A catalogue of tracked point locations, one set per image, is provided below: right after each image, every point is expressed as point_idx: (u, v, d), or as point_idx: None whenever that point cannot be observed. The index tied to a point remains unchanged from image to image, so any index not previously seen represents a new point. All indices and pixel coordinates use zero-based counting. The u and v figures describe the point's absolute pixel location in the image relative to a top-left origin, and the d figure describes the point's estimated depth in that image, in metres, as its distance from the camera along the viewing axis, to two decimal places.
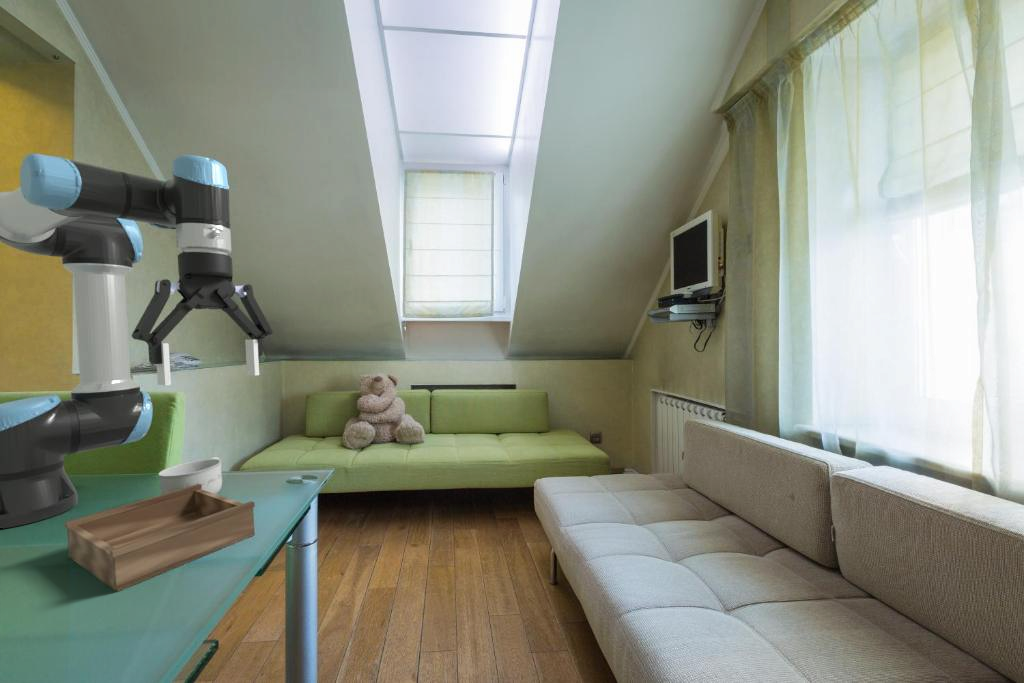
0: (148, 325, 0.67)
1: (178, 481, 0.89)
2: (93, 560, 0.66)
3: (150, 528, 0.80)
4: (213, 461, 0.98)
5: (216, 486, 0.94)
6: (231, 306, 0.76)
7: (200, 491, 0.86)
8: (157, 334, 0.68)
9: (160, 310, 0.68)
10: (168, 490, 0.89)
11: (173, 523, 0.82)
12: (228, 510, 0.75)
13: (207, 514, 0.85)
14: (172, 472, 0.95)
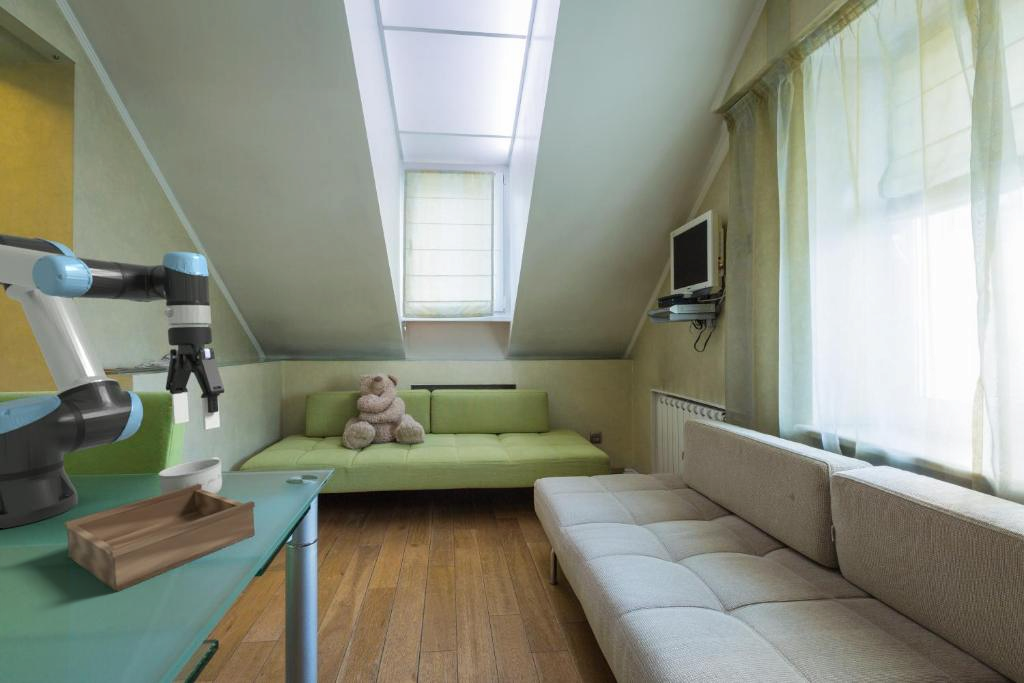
0: (167, 381, 0.98)
1: (178, 481, 0.89)
2: (93, 560, 0.66)
3: (150, 528, 0.80)
4: (213, 461, 0.98)
5: (216, 486, 0.94)
6: (189, 368, 0.92)
7: (200, 491, 0.86)
8: (171, 387, 0.98)
9: (170, 371, 0.97)
10: (168, 490, 0.89)
11: (173, 523, 0.82)
12: (228, 510, 0.75)
13: (207, 514, 0.85)
14: (172, 472, 0.95)
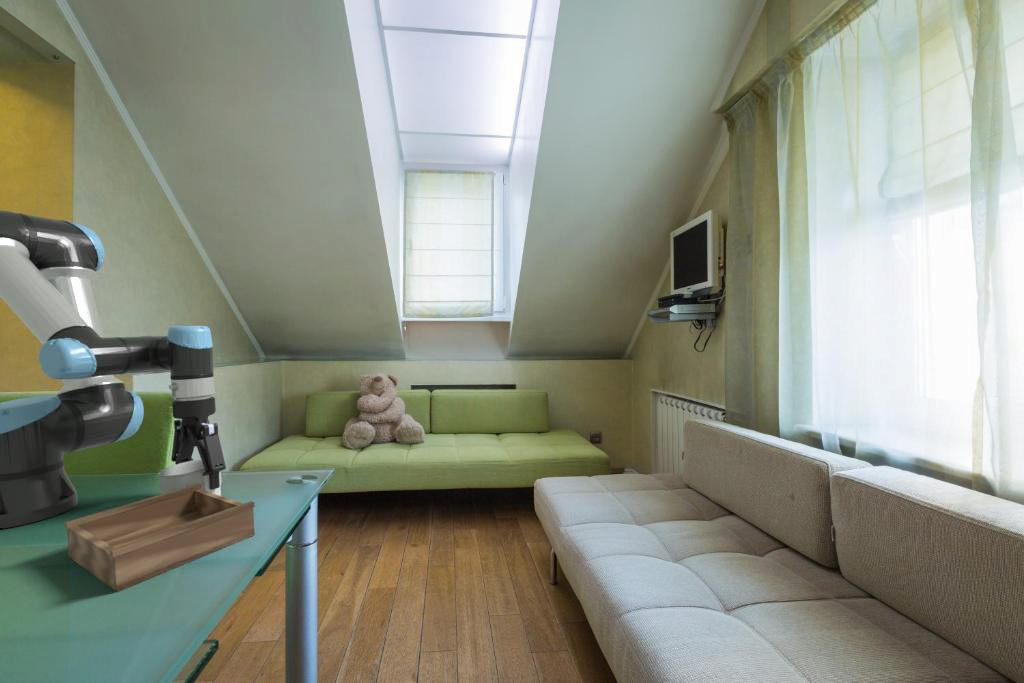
0: (173, 452, 0.98)
1: (177, 481, 0.89)
2: (93, 560, 0.66)
3: (150, 528, 0.80)
4: None
5: None
6: (193, 442, 0.92)
7: (200, 491, 0.86)
8: (176, 459, 0.98)
9: (175, 442, 0.98)
10: (167, 489, 0.89)
11: (173, 523, 0.82)
12: (228, 510, 0.75)
13: (207, 514, 0.85)
14: (172, 471, 0.95)
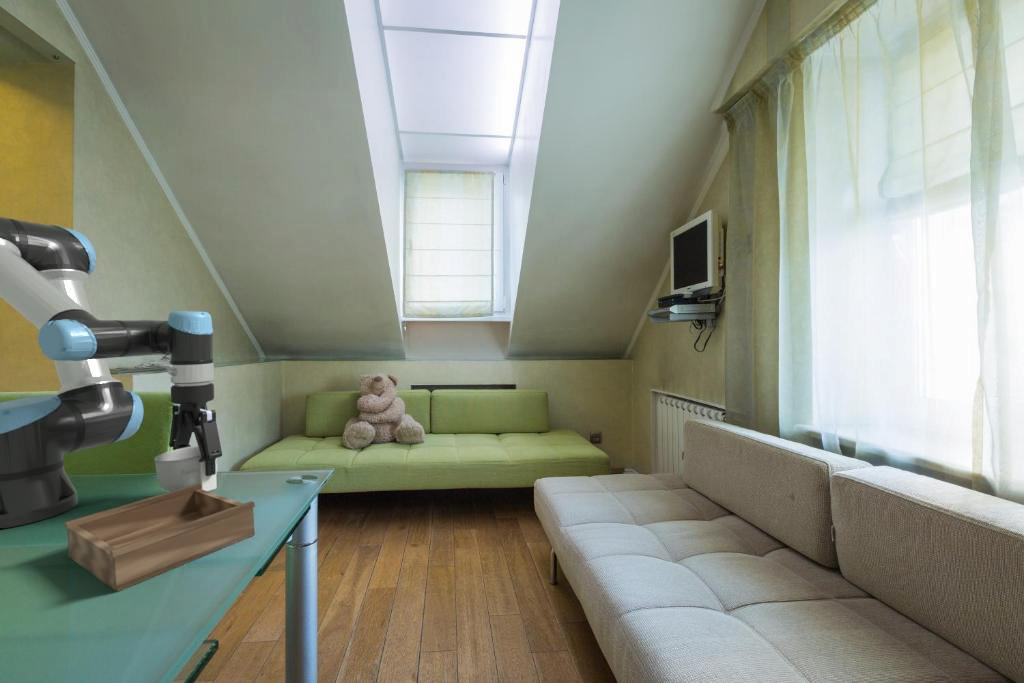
0: (170, 438, 0.98)
1: (173, 466, 0.89)
2: (93, 560, 0.66)
3: (150, 528, 0.80)
4: None
5: None
6: (190, 428, 0.92)
7: (200, 491, 0.86)
8: (174, 445, 0.98)
9: (173, 427, 0.98)
10: (163, 475, 0.89)
11: (173, 523, 0.82)
12: (228, 510, 0.75)
13: (207, 514, 0.85)
14: (168, 457, 0.95)
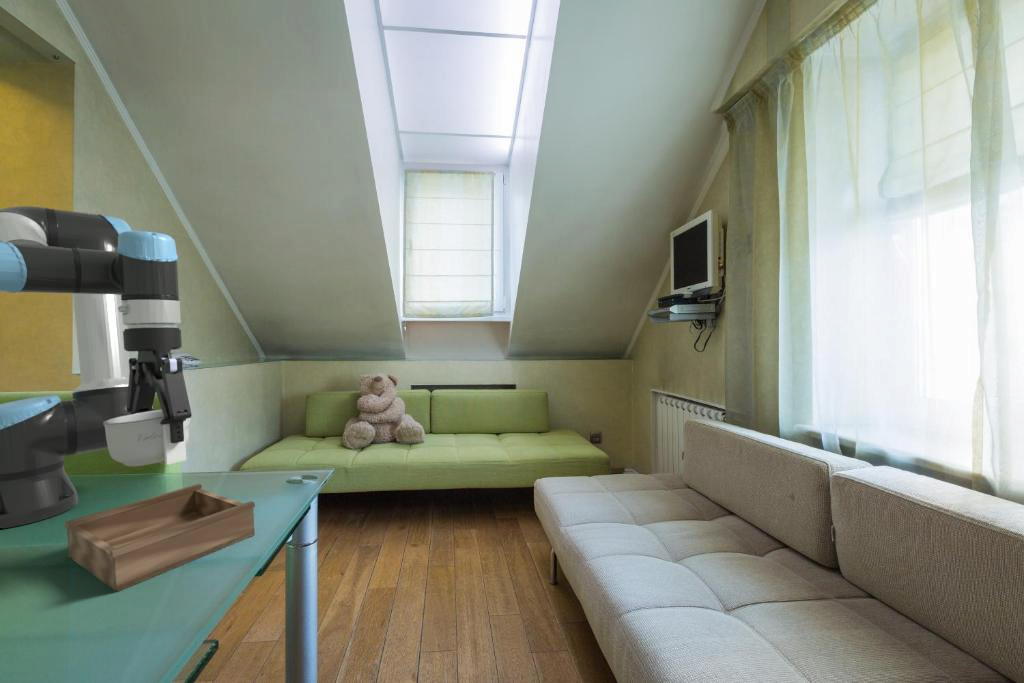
0: (128, 400, 0.77)
1: (127, 430, 0.68)
2: (93, 560, 0.66)
3: (150, 528, 0.80)
4: None
5: None
6: (149, 382, 0.71)
7: (200, 491, 0.86)
8: (132, 409, 0.77)
9: (131, 386, 0.77)
10: (114, 442, 0.68)
11: (173, 523, 0.82)
12: (228, 510, 0.75)
13: (207, 514, 0.85)
14: None
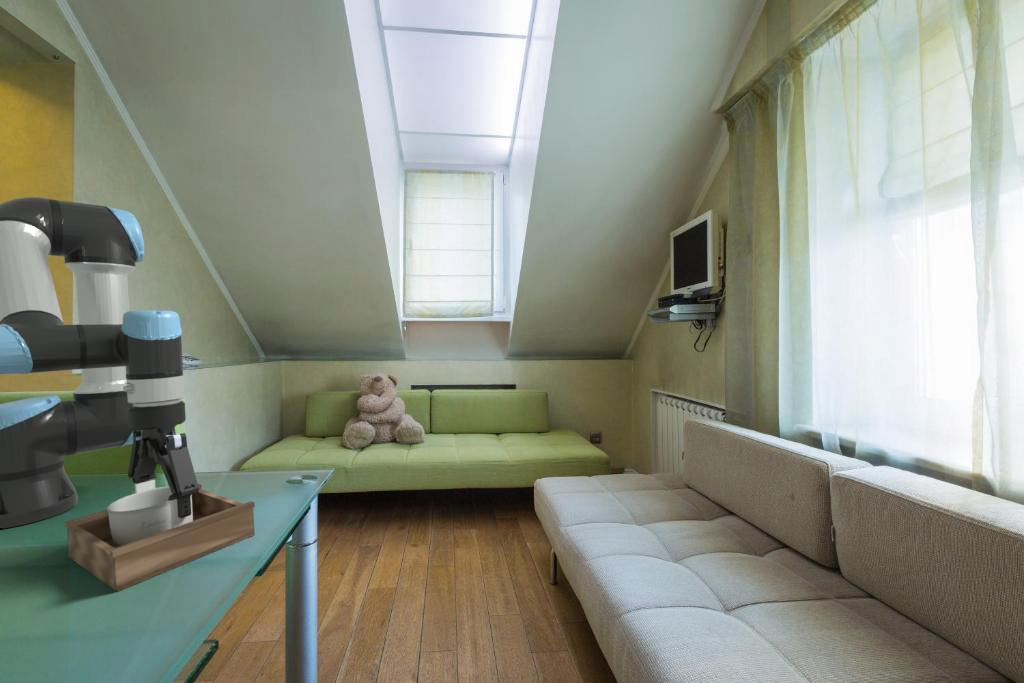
0: (130, 467, 0.78)
1: (131, 518, 0.69)
2: (93, 560, 0.66)
3: None
4: None
5: None
6: (155, 459, 0.72)
7: (200, 491, 0.86)
8: (134, 475, 0.78)
9: (133, 455, 0.77)
10: (118, 530, 0.69)
11: None
12: (228, 510, 0.75)
13: (207, 514, 0.85)
14: (127, 503, 0.75)
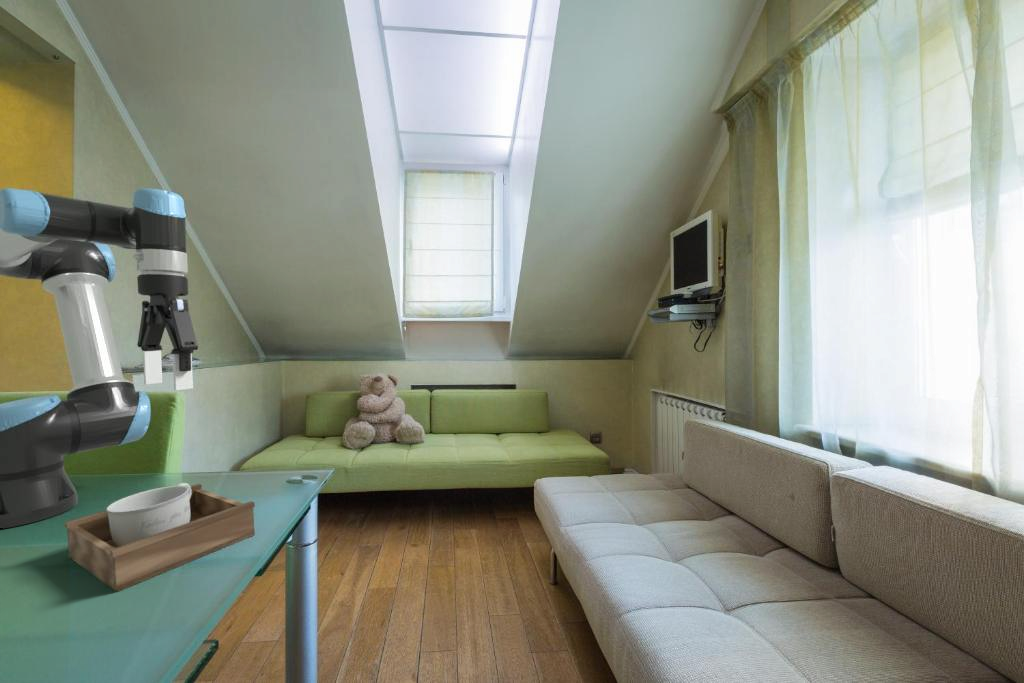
0: (139, 337, 0.88)
1: (131, 518, 0.69)
2: (93, 560, 0.66)
3: None
4: (180, 489, 0.79)
5: (181, 522, 0.74)
6: (160, 321, 0.81)
7: (200, 491, 0.86)
8: (142, 344, 0.88)
9: (142, 325, 0.87)
10: (118, 530, 0.69)
11: None
12: (228, 510, 0.75)
13: (207, 514, 0.85)
14: (127, 504, 0.75)
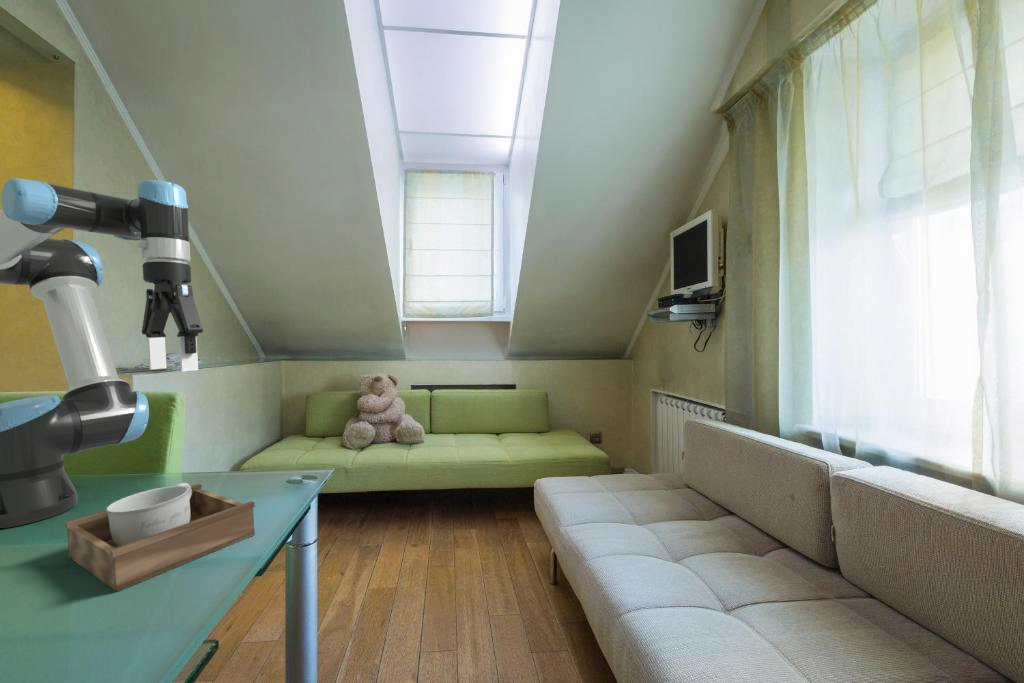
0: (144, 324, 0.91)
1: (131, 518, 0.69)
2: (93, 560, 0.66)
3: None
4: (180, 489, 0.79)
5: (181, 522, 0.74)
6: (165, 306, 0.85)
7: (200, 491, 0.86)
8: (147, 331, 0.91)
9: (146, 313, 0.90)
10: (118, 530, 0.69)
11: None
12: (228, 510, 0.75)
13: (207, 514, 0.85)
14: (127, 504, 0.75)
